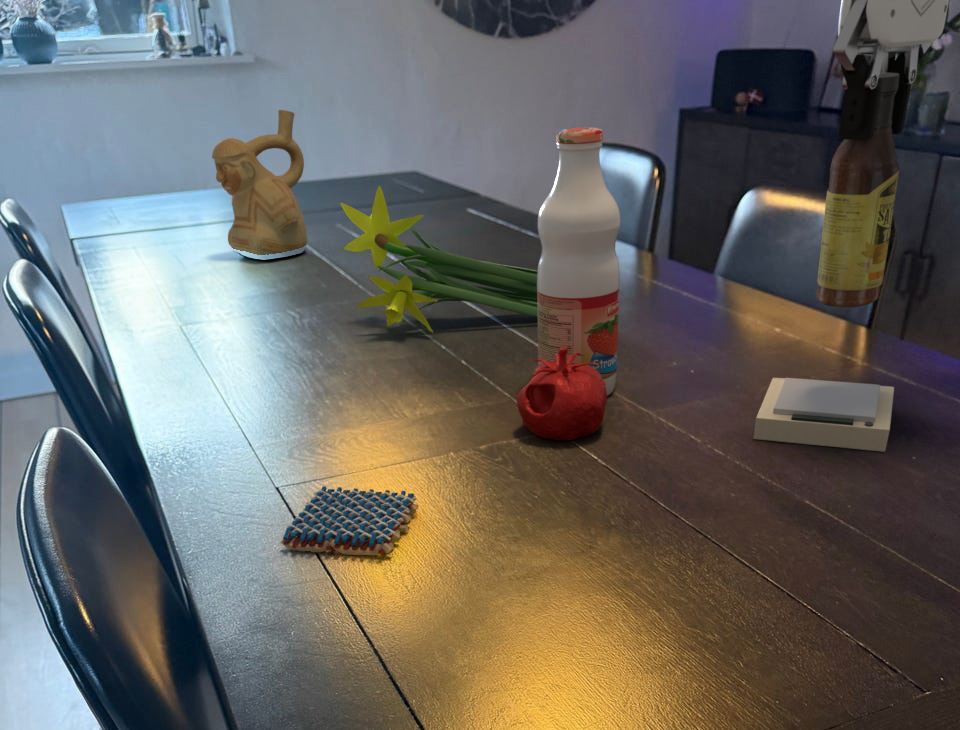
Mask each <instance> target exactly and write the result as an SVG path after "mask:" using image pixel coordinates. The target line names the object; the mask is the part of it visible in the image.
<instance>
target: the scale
mask: <svg viewBox="0 0 960 730" xmlns="http://www.w3.org/2000/svg"><path fill="white" fill-rule="evenodd" d="M770 381H771V382H770V383H769V386H768V388H767V391H766V393H765V395H764V398H763V401H762V403H761V405H760V408H759V410H758V411H757V412H758V413H757V415H756V417H755V424H754V431H753V432H754V433H753V439H754V440H758V441H759V440H760V441H769V442H770V441H771V442H778V443H779V442H781V443H791V444H799V445H809V446H810V445H811V446H821V447H830V448H831V447H832V448H841V449H852V450H862V451H870V452H871V451H873V452H881V453H886V450H887V446H888V442H889V441H888V440H889V435H890V430H891V422H892V411H893V403H894V394H895V386H888V385H880V384H877V383H875V384H874V383H864V382H863V383H861V382H848V381H834V380H821V379H811V378H810V379H809V378H795V377H785V378H783V377H772V378H771V380H770Z"/></svg>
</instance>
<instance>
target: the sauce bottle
mask: <svg viewBox="0 0 960 730" xmlns="http://www.w3.org/2000/svg"><path fill="white" fill-rule="evenodd" d="M899 77H900V75H899V74H898V73H882V72H880V75H879V78H878V82H877V85H876V87H875V88H874V89H881V91H880V97H879V103H878V109H877V115H876V121H875V127H874V133H873V137H872V138H871V139H870V140H849V139H842V141H841V144H839V146H838V147H837V149H836V151H835V153H834V155H833V156H832V160H831V164H830V168H829V171H830V172H829V180H828V181H829V183H828V189H827V190H826V197H825V206H824V214H823V216H824V217H823V225H822V234H821V242H820V243H821V244H820V251H819V262H818V273H817V280H816V284H817V285H818V286H817V290H816V299H817V300H818V302H819V303H821V304H822V305H824V306H828V307H833V308H859V307H863V306H868V305H871V304H873V303H875V302H876V301H877V300H878V298H879V296H880V294H881V287H882V285H883V282H884V275H885V271H886V270H885V269H886V263H887V257H888V250H889V243H890V237H891V229H892V223H893V216H894V209H895V200H896V193H897V189H898V188H897V187H898V181H899V175H900V174H899V173H900V165H899V161H898V155H897V151H896V146H895V142H894V141H895V140H894V134H892V128H891V126H892V114H893V107H894V99H895V95H896V93H897V90H898V86H899Z"/></svg>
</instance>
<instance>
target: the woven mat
mask: <svg viewBox="0 0 960 730" xmlns="http://www.w3.org/2000/svg"><path fill="white" fill-rule="evenodd" d="M313 494H314V496H311V499H310V501H309V500H307V501H306V503H305V505H304V506H305V507H304V508H303V509H302V511H300V512H299V513H298V515H297V516H296V517H295V518H294V519H293V520H292V522H291V524H289V525H288V526H287V527H286V529H285V530H284V535H283V537H282V540H281V541H280V544H282V545H283V547H285V548H286V549H288V550H292V551H294V550H299V551H298V552H305V551H311V552H310V553H318V552H319V553H322V552H326V551H334V550H335V551H336V552H338V553H340V554H342V555H350V556H351V555H352V556H378V555H388V554H389V553H390V552H391V551H393V550H394V547H395V546H394V543H395V542H397V541H398V540H399V539H400V537H401V533H400V532H404V533H407V532H409V526H408V525H407V524H408V523H410V522H411V521H412V516H411V515H413V514H415V513H416V512H417V511H416V510H417V509H419V505H418V504H416V503H415V502H416V501H417V500H418V498H417V497H416V495H415V493H406V490H401V492H400V494H399V492H391V491H390V489H385V491H384V492H383V491H375V490H374V489H373V488H372V489H371V488H370V489H369V491H367V490H359V489H358V488H353V489H352V490H350V489H344V490H343V488H342V487H341V486H340V487H339V486H338V487H337V489H336V491H335V489H334V488H328V489H327V486H322V487H321V490H318V491H315V492H314V493H313ZM406 494H407V495H406ZM409 521H410V522H409ZM392 549H393V550H392Z"/></svg>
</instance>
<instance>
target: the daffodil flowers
mask: <svg viewBox="0 0 960 730" xmlns="http://www.w3.org/2000/svg"><path fill="white" fill-rule="evenodd" d="M339 204H340V206H341V208H342V210H343V211H344V213H345V215H346V216H347V218H348V219H349V220H350V221H351V222H352V224H354V225H355V226H356V227H358V229H360V230H361V231H362V232H364V233H362V234H361V235H359V236H357V237H356V238H354V239H352V241H350V242H349V243H347V244H346V245H345V246H344V247H343V249H342V250H344V251H348V252H353V253H360V252H365V251H368V250H370V251H371V258H372V262H373V265H374V268H375V270H377V272H379V271H383V272H384V273H386V274H387V275H389V276H390V277H392V278H394V279H396V280H398V281H397V282H396V284H395V283H394V282H392V281H390V280H389V279H387V278H385V277H381V276H370V275H368V276H367V277H368V279H369V280H370V281H371V282H372V283H374V284H375V285H376V286H377V287H379V288H380V289H381V290H382V291H383V292H386V293H382V294H378V295H373V296H370V297H367V298H365V299H363V300H362V301H361V302H360V303H359V304H357V305H356V308H372V307H385V306H388V307H387V308H386V309H385V310H384V313H383V314H384V316H385V317H386V326H387V327H388V326H390V327H392V326H393V325H394V324H395V323H396V324H399V323H402V322H403V319H404V312H405V311H407V312H408V313H409V314H410V315H411V316H413V317H414V318H415V319H416V320H417V321H419V322H420V323H421V324H422V325H424V326H425V328H426V329H427V330H428V331H429V332H430V331H431V332H433V333H434V330H433V329H432V327H431V326H430V324H429V322H428V320H427V319H426V317H425V316H424V314H423V313H422V311H421V310H423V309H424V308H426V307H429V306H431V305H434V304H437V303H442V302H468V303H475V304H480V305H485V306H488V307H493V308H497V309H501V310H505V311H509V312H513V313H518V314H522V315H525V316H529V317H534V318H538V303H537V272H538V269H537V270H536V269H531V268H526V267H519V266H514V265H513V266H512V265H507V264H500V263H495V262H489V261H483V260H479V259H474V258H469V257H467V256H462V255H458V254H454V253H450V252H447V251H445V250H443V249H440V248H439V247H437V246H435V245H433V244H432V243H430V242H429V241H427V240H426V239H425V238H423V237H422V236H421V234H420V233H419V232H418V231H417V230H416V229H415V228H414V227H413V226H414V225H415V224H416V223H417V222H419V221H420V220H421V219H423V217H425V215H424V214H417V215H414V216H410V217H405V218H401V219H397V220H393V221H390V220H391V219H390V214H389V210H388V206H387V202H386V198H385V195H384V192H383V189H382V186H381V185H378V186H377V189H376V191H375V196H374V200H373V204H372V209H371V210H372V211H371V213H370V215H367V214H365V213H363V212H362V211H360V210H358V209H356V208H354V207H352V206H351V205H348V204H346V203H343V202H340V203H339ZM407 230H410V231H411V232H412V233H413V235H414V236H415V237H416V238H417V240H418V241H419V242H420V243H422V245H423V246H421V245H413V244H405V243H404V242H402V240H401V239H400V238H399V236H400V235H401V234H403V233H404V232H405V231H407ZM388 252H389V253H390V254H394V255H397V256H400V257H402V258H401V259H398V260H396V261H393V262H391V263H388V264H387V265H385V266H383V264H384V263H385V261H386V258H387V255H388ZM397 264H402V265H403V266H404V267H405V268H406V269H408V271H410V272H411V273H413V274H415V275H417V276H418V277H417V276H414V275H411V274H408V273H404V272H401V271H398V270H396V269H391V268H389V267H392V266H394V265H397ZM420 268H421V269H420ZM423 269H426V270H428V271H429V272H428V271H425V270H423ZM457 279H458V280H457ZM460 280H461V281H460ZM462 281H466V282H470V283H474V284H477V285H472V284H468V283H465V282H462ZM478 285H482V286H478ZM484 286H486V287H484ZM489 287H491V288H489ZM416 303H417V304H420V303H421V304H422V303H427V304H425V305H423V306H422V307H421V306H420V307H418V306H417V304H416ZM431 332H430V333H431Z"/></svg>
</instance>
